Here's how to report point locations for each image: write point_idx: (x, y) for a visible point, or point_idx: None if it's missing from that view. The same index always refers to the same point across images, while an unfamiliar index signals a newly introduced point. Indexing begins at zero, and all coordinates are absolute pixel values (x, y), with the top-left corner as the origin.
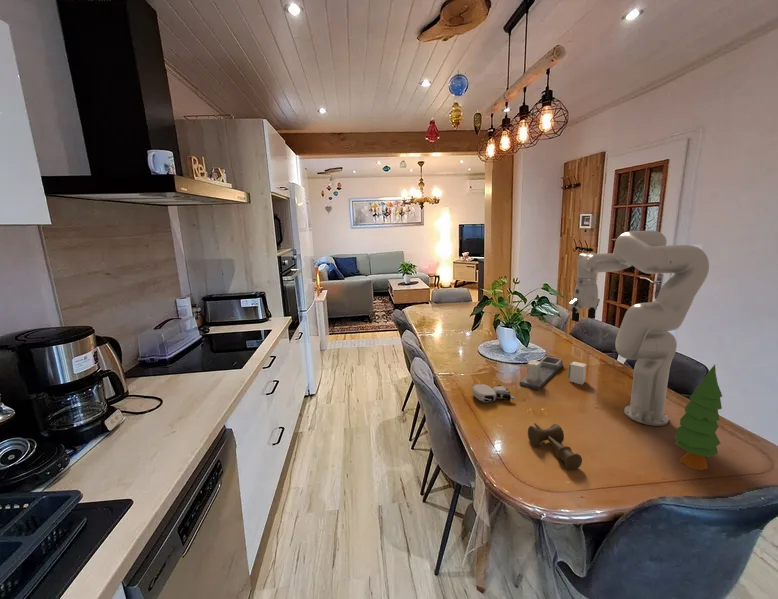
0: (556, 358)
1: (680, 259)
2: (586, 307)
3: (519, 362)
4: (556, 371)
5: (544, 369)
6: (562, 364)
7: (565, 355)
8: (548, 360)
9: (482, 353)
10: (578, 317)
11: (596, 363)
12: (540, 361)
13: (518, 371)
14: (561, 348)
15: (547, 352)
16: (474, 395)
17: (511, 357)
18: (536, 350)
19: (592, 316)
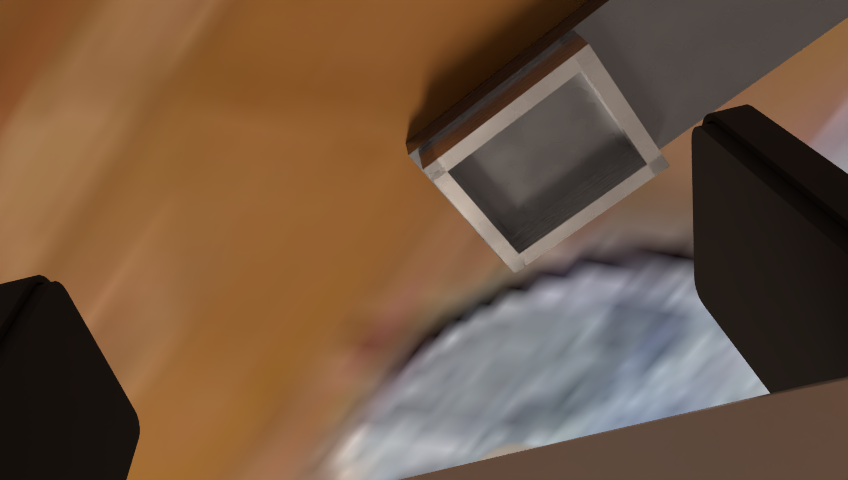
0: (465, 199)
1: None
2: (775, 414)
3: None
4: (563, 23)
5: (678, 52)
6: (417, 142)
7: (232, 343)
8: (503, 227)
9: None
10: (815, 159)
11: (41, 131)
12: (660, 163)
13: (845, 115)
14: (177, 470)
15: (344, 417)
16: None
17: (682, 372)
18: (405, 460)
19: (54, 353)
